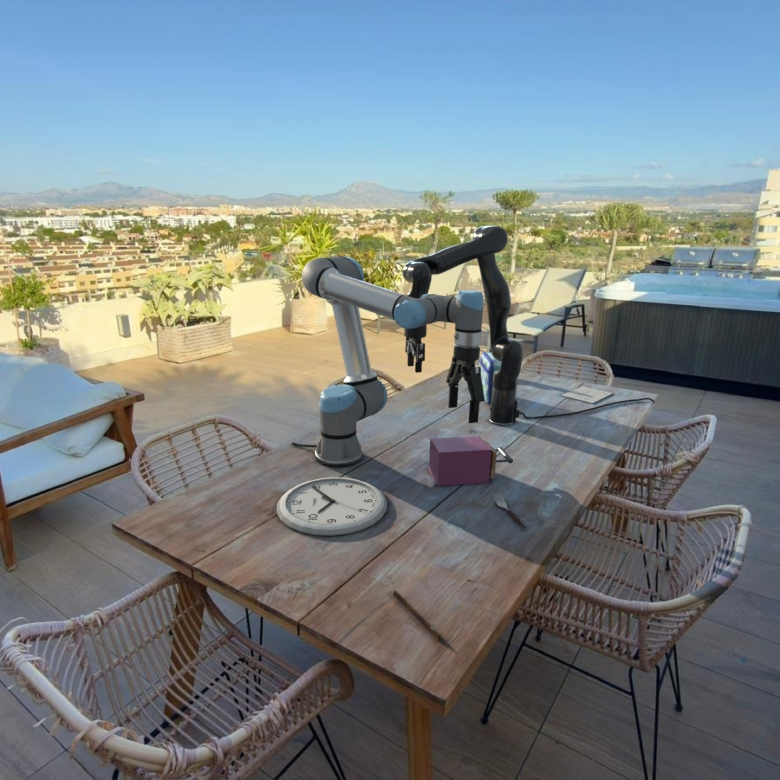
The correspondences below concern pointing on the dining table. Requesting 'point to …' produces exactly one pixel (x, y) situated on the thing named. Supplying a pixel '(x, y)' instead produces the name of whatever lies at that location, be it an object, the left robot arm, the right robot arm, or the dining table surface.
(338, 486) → the wall clock
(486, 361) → the lunch box
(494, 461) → the drawer
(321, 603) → the dining table surface
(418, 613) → the brown thin rod
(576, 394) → the invitation card
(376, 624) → the dining table surface
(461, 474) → the magenta rectangular box
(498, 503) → the fork
